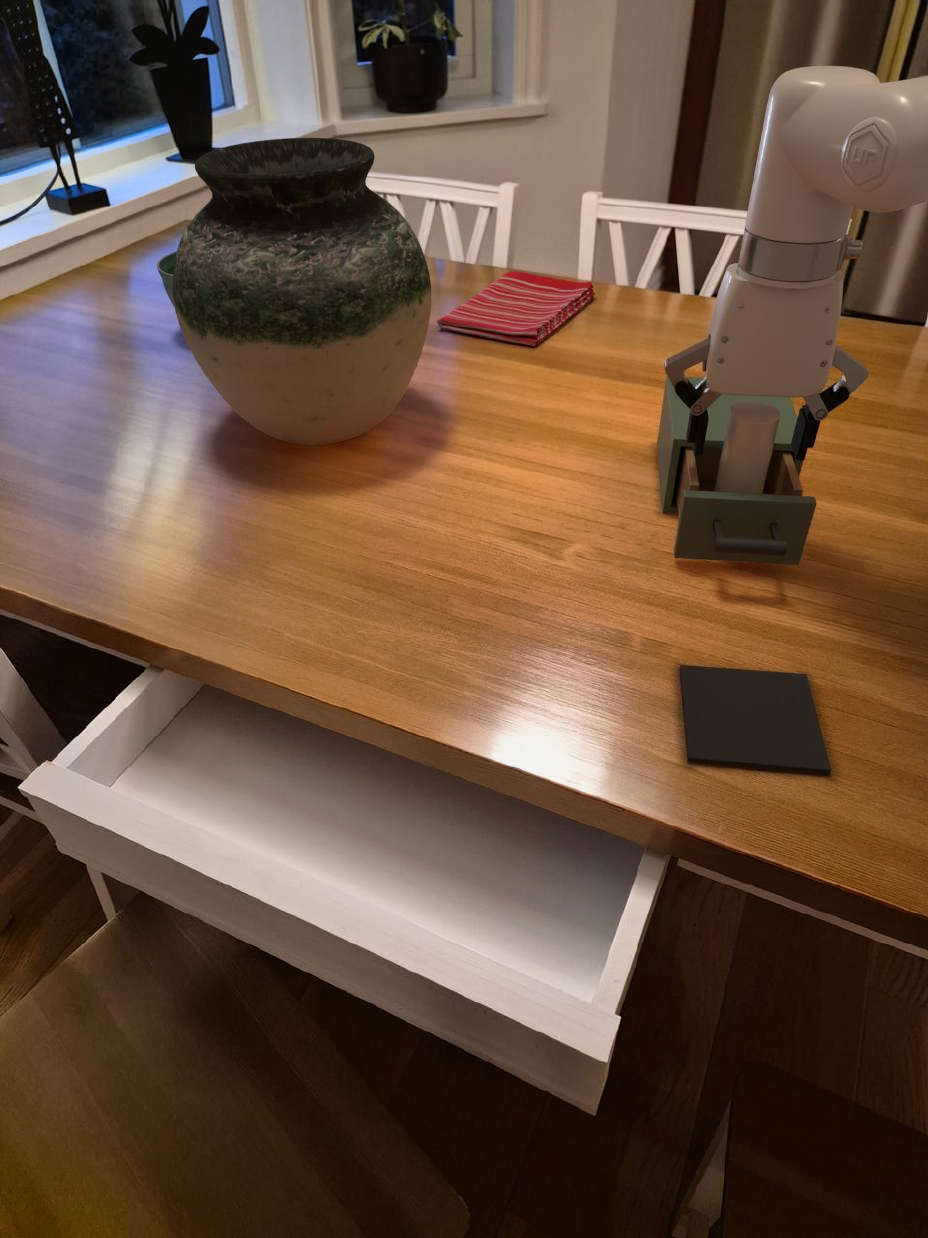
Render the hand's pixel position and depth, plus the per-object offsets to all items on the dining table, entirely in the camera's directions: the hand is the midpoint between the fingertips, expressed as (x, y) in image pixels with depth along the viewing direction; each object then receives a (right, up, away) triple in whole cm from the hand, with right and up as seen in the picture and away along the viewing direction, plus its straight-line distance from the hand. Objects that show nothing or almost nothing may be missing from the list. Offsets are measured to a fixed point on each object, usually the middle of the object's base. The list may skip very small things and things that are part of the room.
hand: (746, 450), depth 77 cm
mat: (-4, -23, -13) cm, 27 cm away
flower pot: (-62, +29, +52) cm, 86 cm away
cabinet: (+2, 0, +14) cm, 15 cm away
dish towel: (-17, +33, +55) cm, 66 cm away
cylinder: (0, -6, +5) cm, 8 cm away
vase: (-44, +8, +27) cm, 52 cm away
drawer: (0, -7, +5) cm, 9 cm away
